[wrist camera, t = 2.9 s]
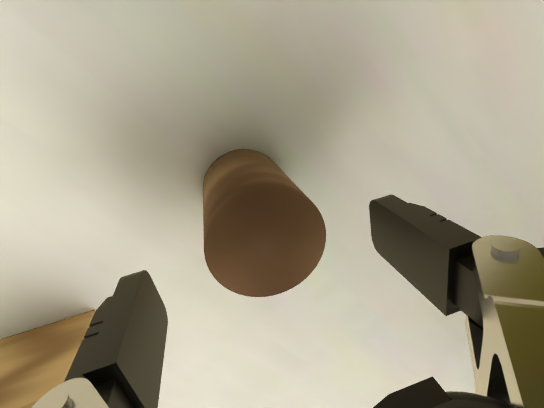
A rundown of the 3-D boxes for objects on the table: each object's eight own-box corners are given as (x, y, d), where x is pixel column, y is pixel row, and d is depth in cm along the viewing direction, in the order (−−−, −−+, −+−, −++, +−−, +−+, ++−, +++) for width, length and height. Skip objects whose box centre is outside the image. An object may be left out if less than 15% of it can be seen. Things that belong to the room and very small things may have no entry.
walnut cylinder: (273, 139, 17) (316, 171, 11) (289, 212, 19) (332, 275, 13) (191, 161, 17) (185, 208, 10) (216, 234, 18) (224, 311, 12)
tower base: (94, 309, 19) (50, 402, 13) (133, 372, 21) (109, 473, 15) (-8, 341, 18) (-100, 453, 12) (44, 403, 20) (-13, 519, 15)
